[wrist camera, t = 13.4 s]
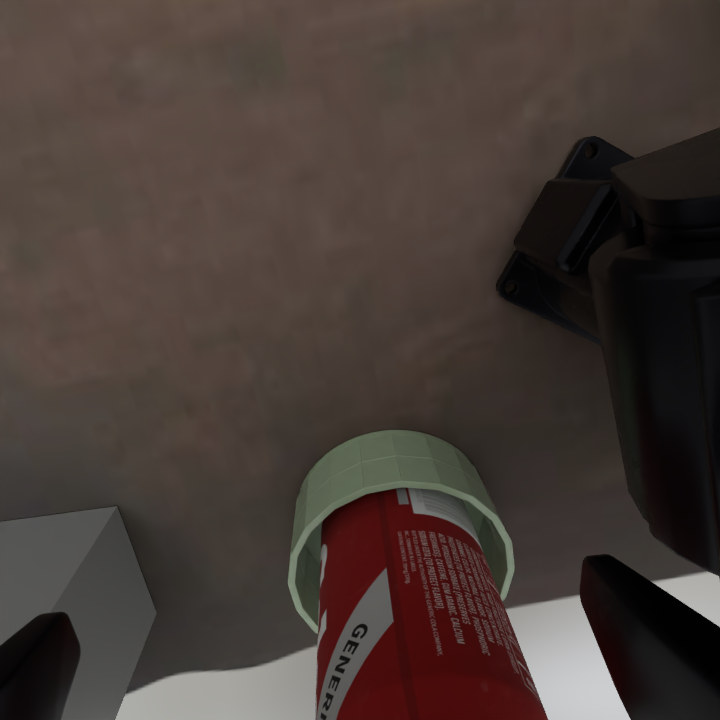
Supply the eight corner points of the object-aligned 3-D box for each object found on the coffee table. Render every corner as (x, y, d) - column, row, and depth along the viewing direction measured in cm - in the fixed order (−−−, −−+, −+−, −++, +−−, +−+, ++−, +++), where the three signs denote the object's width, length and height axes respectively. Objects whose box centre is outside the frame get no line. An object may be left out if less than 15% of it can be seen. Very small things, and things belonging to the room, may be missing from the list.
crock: (521, 470, 23) (557, 528, 20) (430, 606, 26) (445, 679, 23) (344, 399, 22) (347, 448, 18) (266, 553, 25) (254, 623, 21)
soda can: (405, 430, 22) (481, 708, 11) (491, 522, 24) (631, 836, 13) (291, 515, 23) (252, 841, 12) (382, 595, 25) (422, 937, 14)
